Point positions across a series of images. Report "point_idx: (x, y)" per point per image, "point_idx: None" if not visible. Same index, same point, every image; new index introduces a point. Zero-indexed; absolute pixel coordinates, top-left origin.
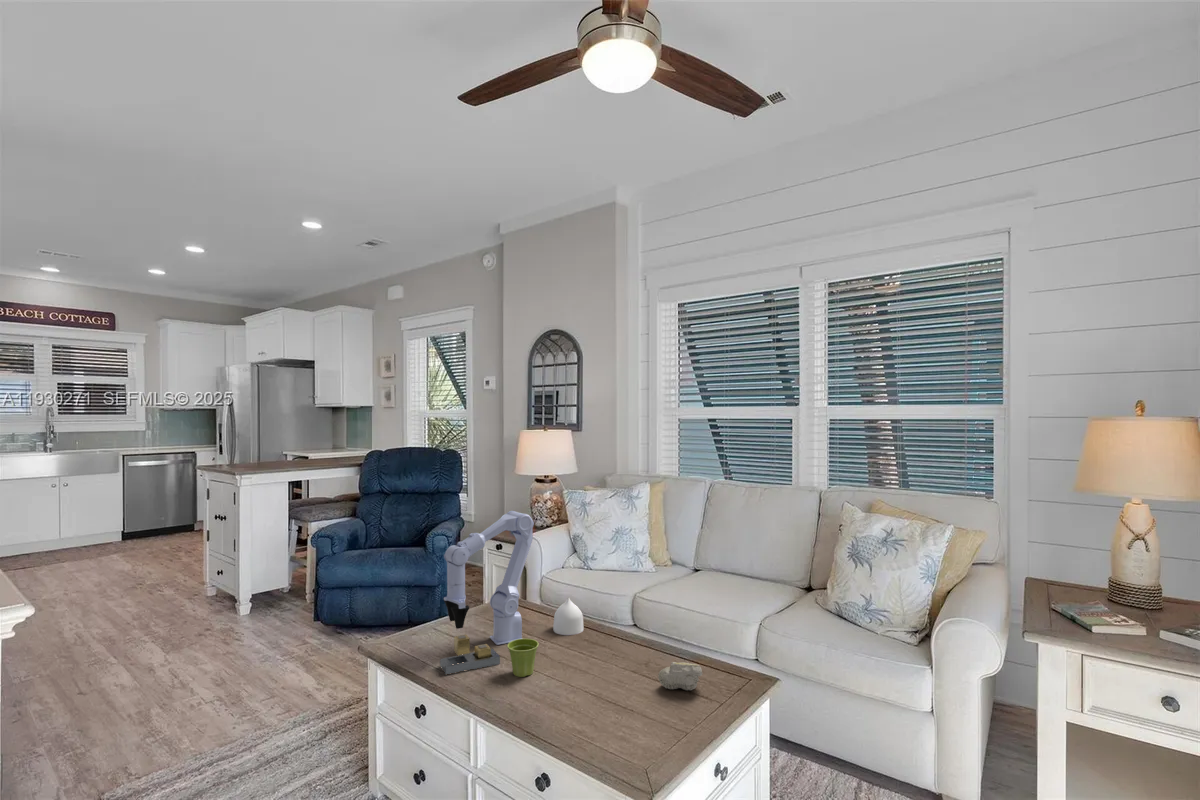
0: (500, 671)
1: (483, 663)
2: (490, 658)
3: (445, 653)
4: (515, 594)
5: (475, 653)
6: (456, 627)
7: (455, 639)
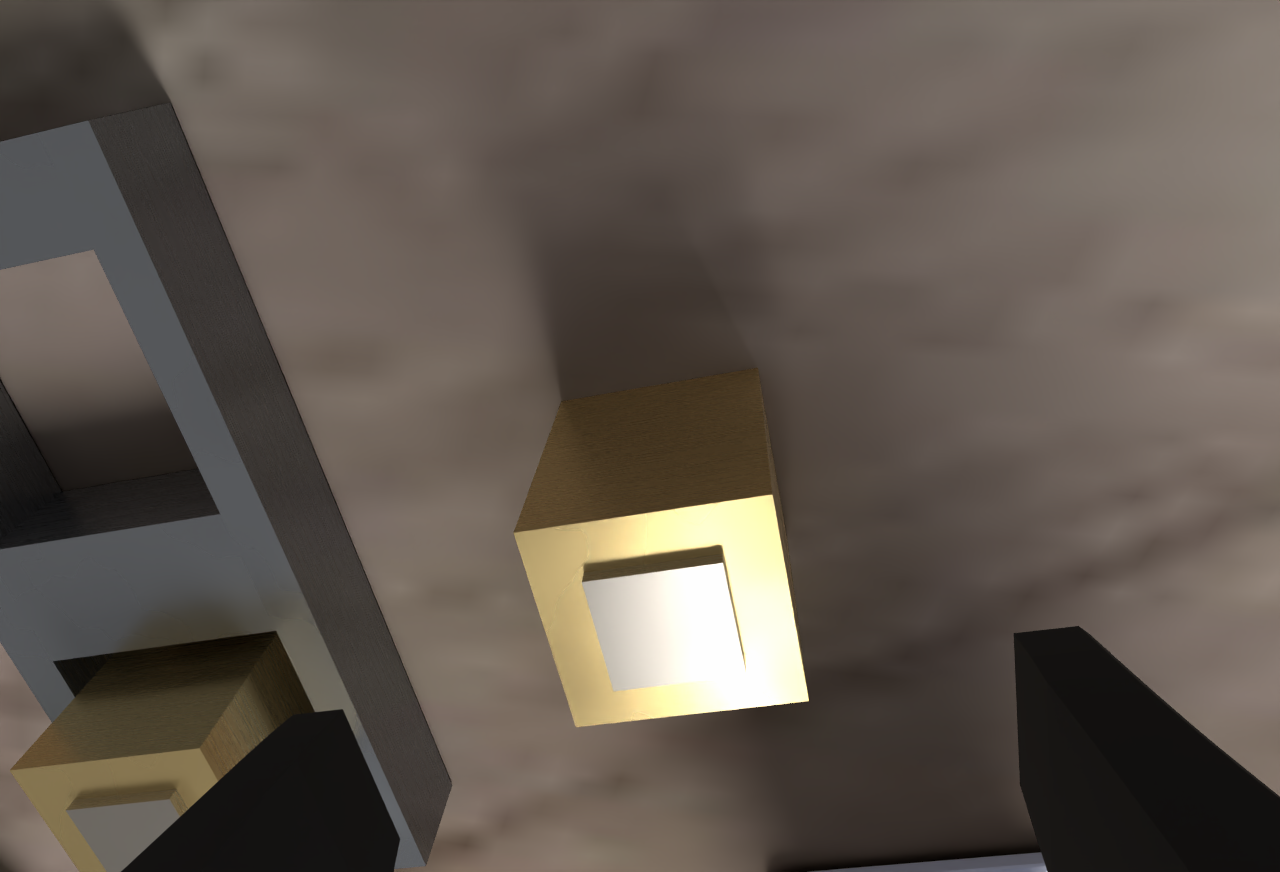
0: (14, 784)
1: None
2: None
3: (731, 224)
4: None
5: (201, 681)
6: (270, 739)
7: (669, 495)
